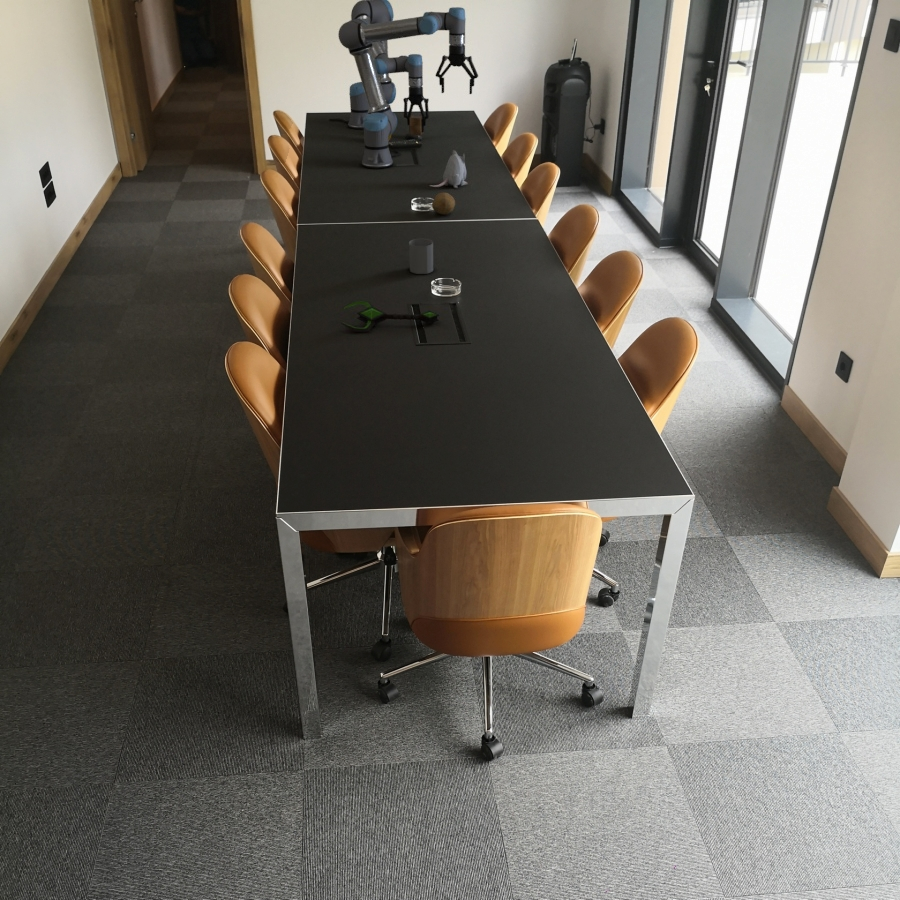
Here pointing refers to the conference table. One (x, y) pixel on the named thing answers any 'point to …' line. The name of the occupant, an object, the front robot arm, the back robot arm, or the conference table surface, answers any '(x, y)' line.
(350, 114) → the back robot arm
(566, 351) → the conference table surface
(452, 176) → the toy
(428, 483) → the conference table surface
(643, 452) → the conference table surface
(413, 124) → the brick
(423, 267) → the cup
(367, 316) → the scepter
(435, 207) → the potato
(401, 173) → the conference table surface
